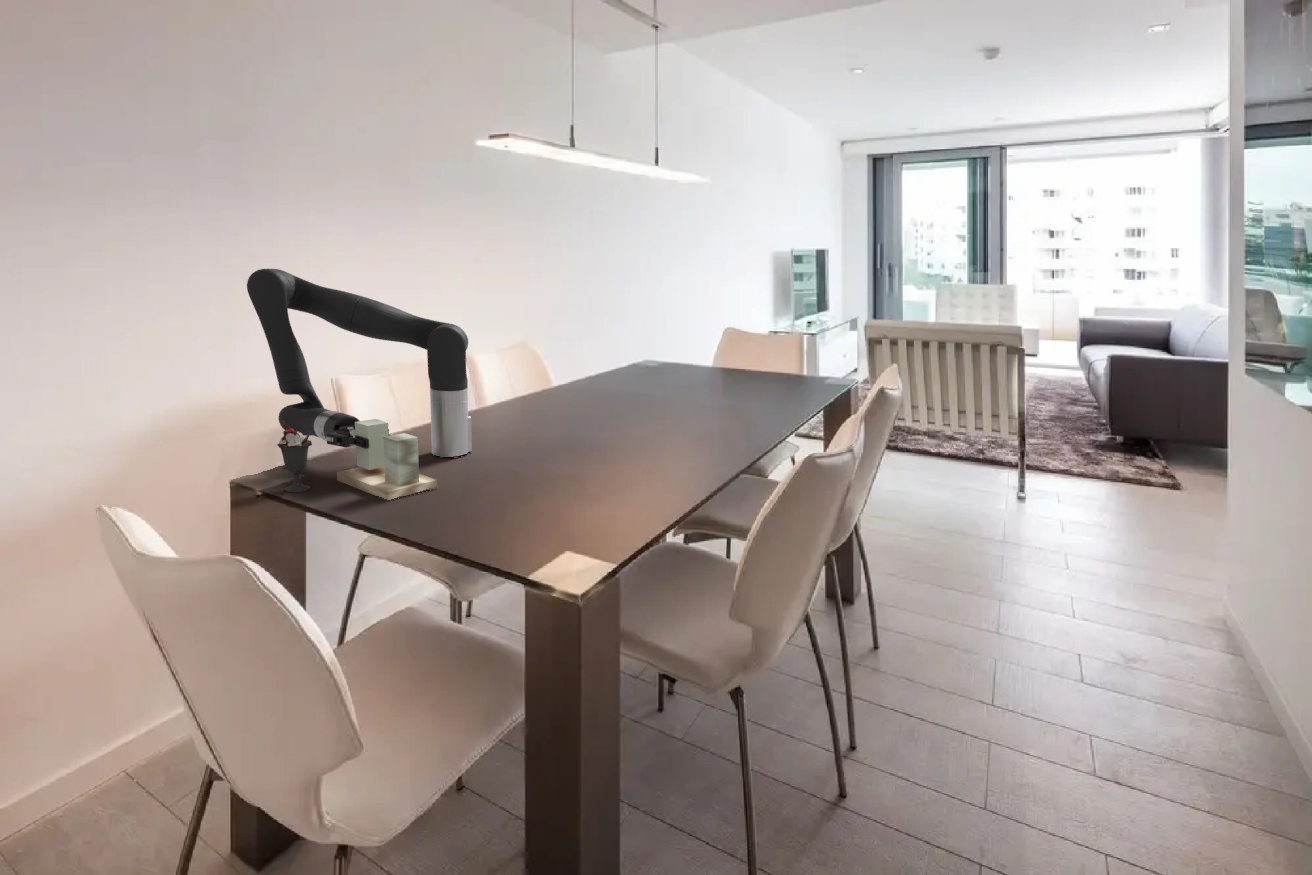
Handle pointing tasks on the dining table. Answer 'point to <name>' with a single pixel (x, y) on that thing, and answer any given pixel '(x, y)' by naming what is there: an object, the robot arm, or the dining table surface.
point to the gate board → (382, 485)
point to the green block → (371, 443)
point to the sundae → (295, 456)
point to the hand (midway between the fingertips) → (378, 441)
